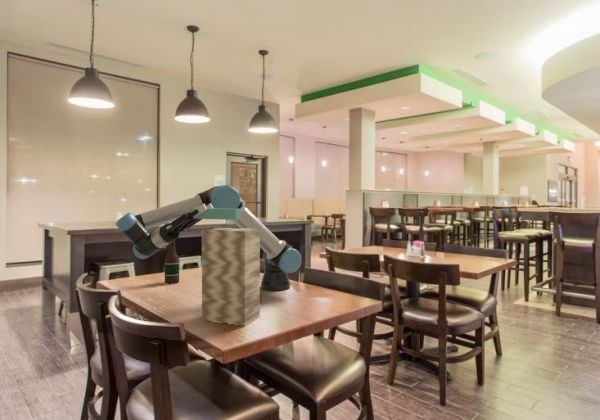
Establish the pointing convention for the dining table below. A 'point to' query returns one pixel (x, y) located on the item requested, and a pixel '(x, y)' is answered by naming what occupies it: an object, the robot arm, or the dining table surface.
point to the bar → (219, 213)
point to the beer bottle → (171, 265)
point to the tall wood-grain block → (231, 275)
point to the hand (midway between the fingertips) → (208, 206)
